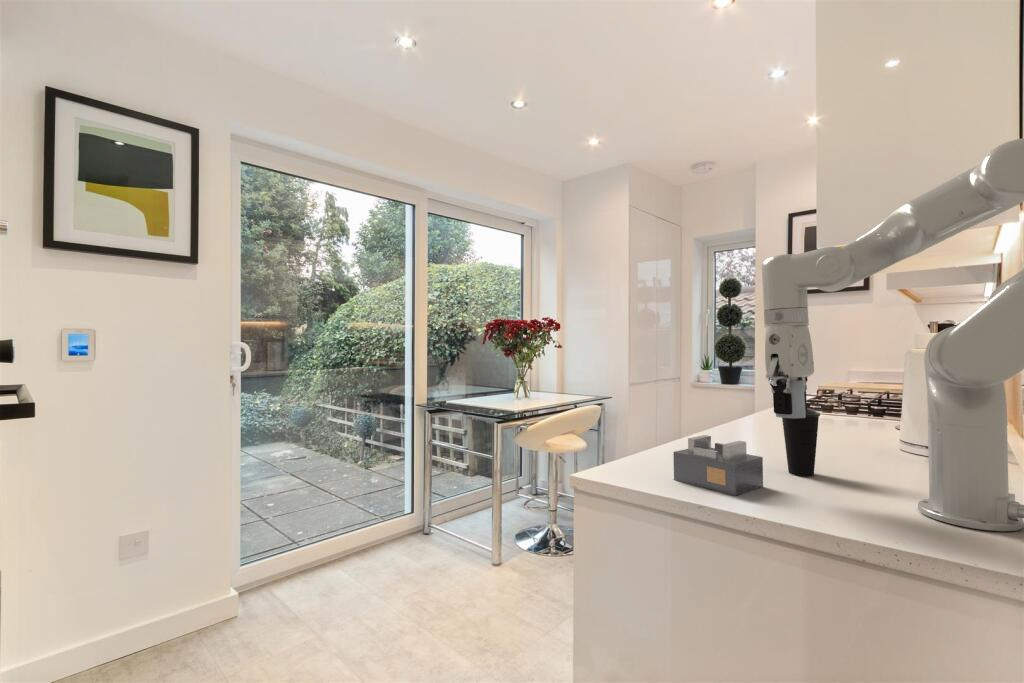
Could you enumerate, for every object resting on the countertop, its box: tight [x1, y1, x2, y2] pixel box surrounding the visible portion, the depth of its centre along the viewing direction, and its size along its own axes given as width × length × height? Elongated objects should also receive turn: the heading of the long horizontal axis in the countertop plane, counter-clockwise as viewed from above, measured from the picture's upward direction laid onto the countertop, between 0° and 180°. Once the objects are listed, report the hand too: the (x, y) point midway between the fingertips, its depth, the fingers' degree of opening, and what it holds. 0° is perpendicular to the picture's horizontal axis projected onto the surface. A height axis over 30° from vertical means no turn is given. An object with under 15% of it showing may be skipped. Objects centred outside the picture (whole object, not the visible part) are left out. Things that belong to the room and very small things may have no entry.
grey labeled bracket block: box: [672, 434, 764, 497], centre depth 101 cm, size 14×10×9 cm
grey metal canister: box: [775, 375, 806, 419], centre depth 94 cm, size 5×5×8 cm
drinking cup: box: [781, 407, 821, 478], centre depth 107 cm, size 8×8×20 cm
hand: (790, 411), depth 94 cm, fingers closed on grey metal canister, 5 cm apart
